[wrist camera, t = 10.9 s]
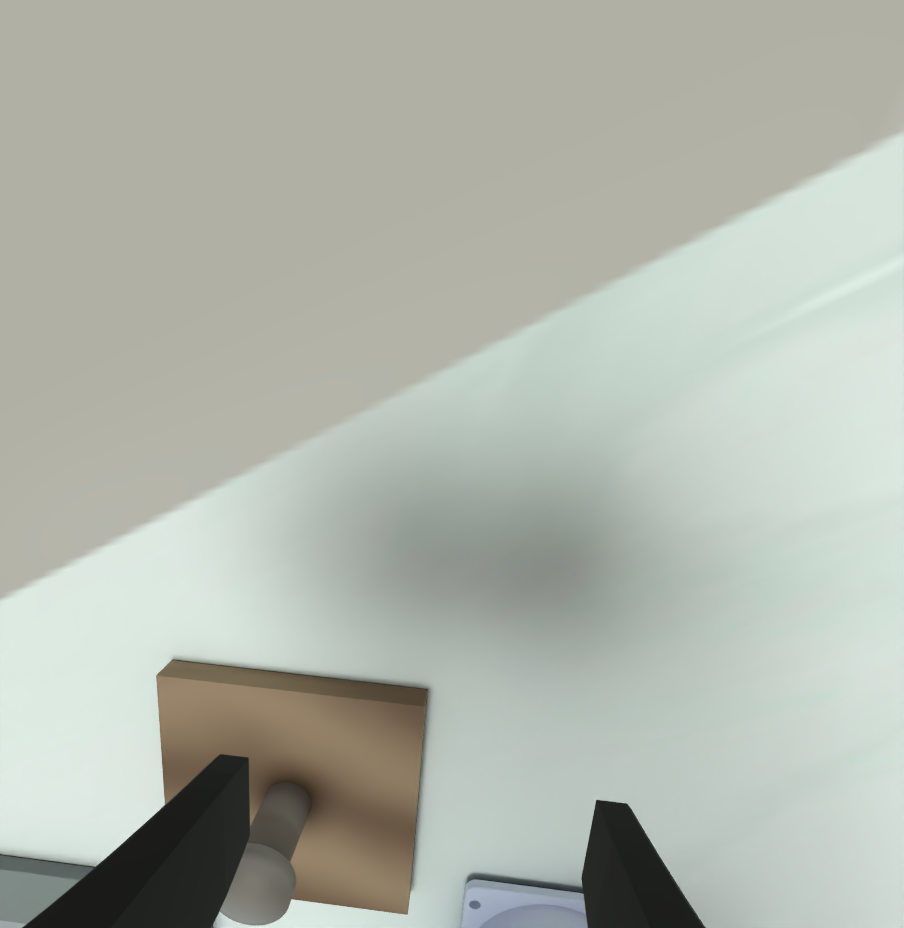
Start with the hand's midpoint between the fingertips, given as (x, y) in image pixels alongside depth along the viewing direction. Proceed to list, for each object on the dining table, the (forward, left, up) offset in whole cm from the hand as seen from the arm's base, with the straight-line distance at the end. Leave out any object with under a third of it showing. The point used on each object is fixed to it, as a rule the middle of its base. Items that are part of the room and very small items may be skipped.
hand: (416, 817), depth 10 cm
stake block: (-10, +6, -9) cm, 15 cm away
